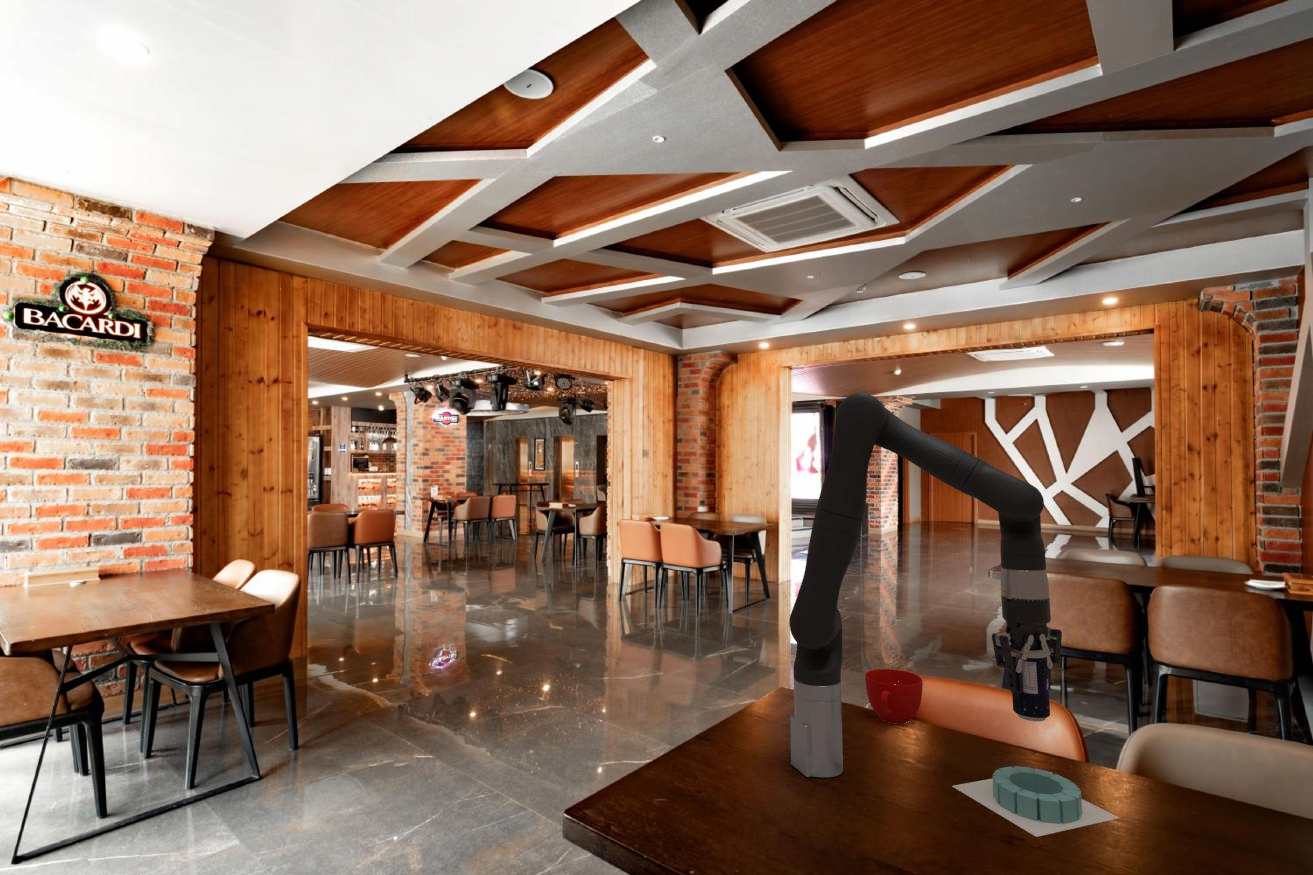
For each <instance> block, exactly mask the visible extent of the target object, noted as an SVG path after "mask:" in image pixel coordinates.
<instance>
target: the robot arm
mask: <svg viewBox="0 0 1313 875" xmlns="http://www.w3.org/2000/svg"><path fill="white" fill-rule="evenodd" d="M834 422H835V423H834V432H833V441H832V448H831V454H830V459H829V463H828V466H827V469H826V473H825V476H824V480H823V483H822V487H821V489H820V493H819V497H818V500H817V505H816V509H815V513H814V517H813V521H812V526H811V532H810V537H809V541H808V548H807V549H808V550H807V554H806V562H805V566H804V567H805V568H804V573H803V577H802V580H801V584H800V587H799V590H798V593H797V596H796V599H795V602H794V604H793V607H792V609H791V612H790V615H789V616H790V617H789V622H788V623H789V630H790V633H791V634H790V635H792V638H793V639H794V641H795V642H796V651H795V658H794V662H793V710H794V711H793V712H794V713H793V714H794V715H791V716H790V717H789V718H790V719H789V720H790V725H789V726H790V730H789V731H790V765H791V766H793V768H795V769H797V770H798V771H799V772H800V773H801V774H803V775H804V776H805V777H807V778H809V777H814V778H815V777H816V778H832V777H833V778H834V777H837V776H839V775H841V774H842V773H843V771H844V756H843V754H844V753H843V720H842V717H843V715H842V710H843V709H842V680H841V679H842V678H841V677H842V674H841V673H842V665H843V622H842V620H843V619H842V615H841V612H840V610H839V608H838V602H839V597H840V596H839V595H840V590H841V587H842V582H843V580H844V577H845V574H846V572H847V570H848V568H849V565H850V564H851V561H852V559H853V556H854V554H855V551H856V548H857V545H858V542H859V538H860V535H861V530H862V528H863V522H864V518H865V512H866V505H867V494H868V493H867V490H868V489H867V487H868V470H869V466H870V461H871V457H872V454H873V451H874V447H875V446H876V447H879V448H882V449H885V450H887V451H889V452H892V453H894V454H895V455H898V456H899V457H902V458H903V459H905V460H907V461H909V462H910V463H911V464H913V465H915V466H917V467H918V468H919V469H921V470H922V471H924V472H926V473H927V474H929V475H930V476H932V477H934V478H936V479H937V480H939V481H940V482H942V483H944V484H946V485H948V486H950V487H952V488H953V489H955V490H957V491H959V492H961V493H962V494H965V495H967V496H969V497H972V498H975V499H976V500H978V501H979V502H981V503H982V504H985V505H986V506H988V507H989V508H991V509H993V510H994V511H996V512H997V514H998V515H997V516H998V522H999V523H998V524H999V531H1000V565H1001V566H1000V569H1001V571H1000V572H1001V573H1000V594H1001V597H1000V600H1001V616H1002V618H1003V619H1004V621H1005V623H1006V626H1005V630H1004V632H1001V633H996V632H993V633H992V634H991V640H992V646H993V653H994V657H995V663H996V666H997V667H1000V668H1003V669H1005V670H1006V672H1007V684H1008V686H1007V687H1008V689H1009V690H1010V692H1011V693H1012V692H1013V693H1015V694H1018V695H1019V694H1023V676H1022V673H1021V670H1022V666H1023V661H1025V660H1027V657H1028V654H1029V651H1030V650H1040V649H1041V650H1043V649H1044V653H1045V655H1046V656H1047V668H1048V685H1049V691H1050V690H1051V686H1052V670H1051V669H1052V668H1053V666H1054V665H1055V664H1056V665H1058V664H1060V662H1061V652H1062V639H1063V637H1062V636H1063V631H1062V630H1061V629H1058V628H1054V627H1050V626H1048V625H1047V624H1049V623H1051V620H1052V617H1051V602H1050V600H1051V599H1050V586H1049V585H1050V583H1049V578H1048V573H1047V572H1048V571H1047V561H1046V559H1047V558H1046V548H1045V544H1044V540H1043V538H1042V526H1041V525H1042V521H1041V518H1042V517H1041V514H1042V512H1043V510H1044V507H1045V500H1044V496H1043V495H1042V492H1041V491H1040V489H1038V488H1037V487H1035V486H1034V485H1032V484H1031V483H1028V482H1027V481H1025V480H1023V479H1020V478H1018V477H1016V476H1013V475H1012V474H1009V473H1007V472H1005V471H1003V470H1000V469H998V468H996V467H994V466H993V465H991V464H990V463H989V462H986V461H985V460H983V459H982V458H979V457H977V456H976V455H974V454H972V453H970V452H968V451H966V450H964V449H962V448H960V447H958V446H956V445H954V444H952V443H950V442H947V441H945V440H943V439H940V438H938V437H935V436H933V435H930V434H928V433H927V432H925V431H921V430H920V429H917V428H916V427H914V426H912V425H911V424H909V423H907V422H905V421H904V420H903V419H901V418H900V417H899V416H897V415H896V414H894V413H893V412H892V411H890V410H889V409H888V408H886V407H885V405H884V404H883V403H882V402H881V400H879V399H878V398H877V397H875V396H874V395H872V394H869V393H866V392H856V393H852V394H850V395H848V396H846V397H845V398H844V399H843V400H842V401H841V403H840V404H839V405H838V408H837V411H836V415H835V421H834ZM1013 648H1014V649H1016V650H1019V651H1021V652H1020V653H1019V654H1018V653H1014V652H1013ZM1052 650H1053V651H1052ZM1052 652H1053V653H1052ZM1013 657H1015V658H1016V663H1015V664H1013Z"/></svg>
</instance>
